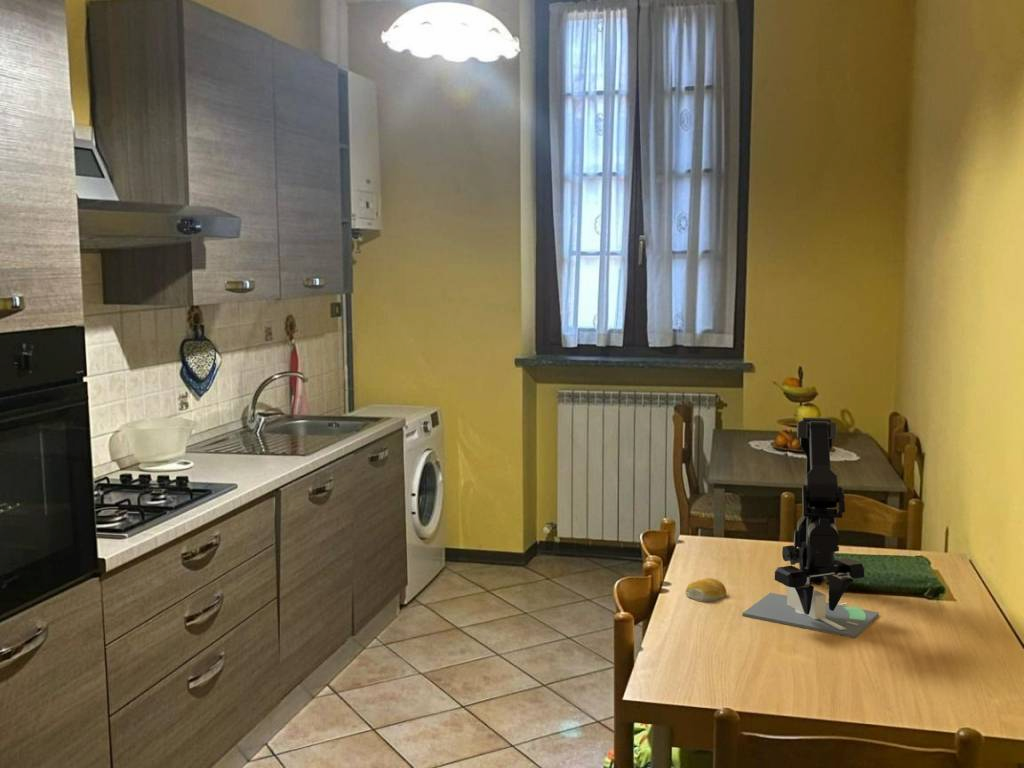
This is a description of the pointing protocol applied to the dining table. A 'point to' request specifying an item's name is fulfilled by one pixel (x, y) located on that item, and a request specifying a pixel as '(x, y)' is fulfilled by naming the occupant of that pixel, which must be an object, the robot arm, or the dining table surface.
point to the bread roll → (706, 590)
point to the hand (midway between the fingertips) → (819, 612)
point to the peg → (816, 606)
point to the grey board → (780, 612)
